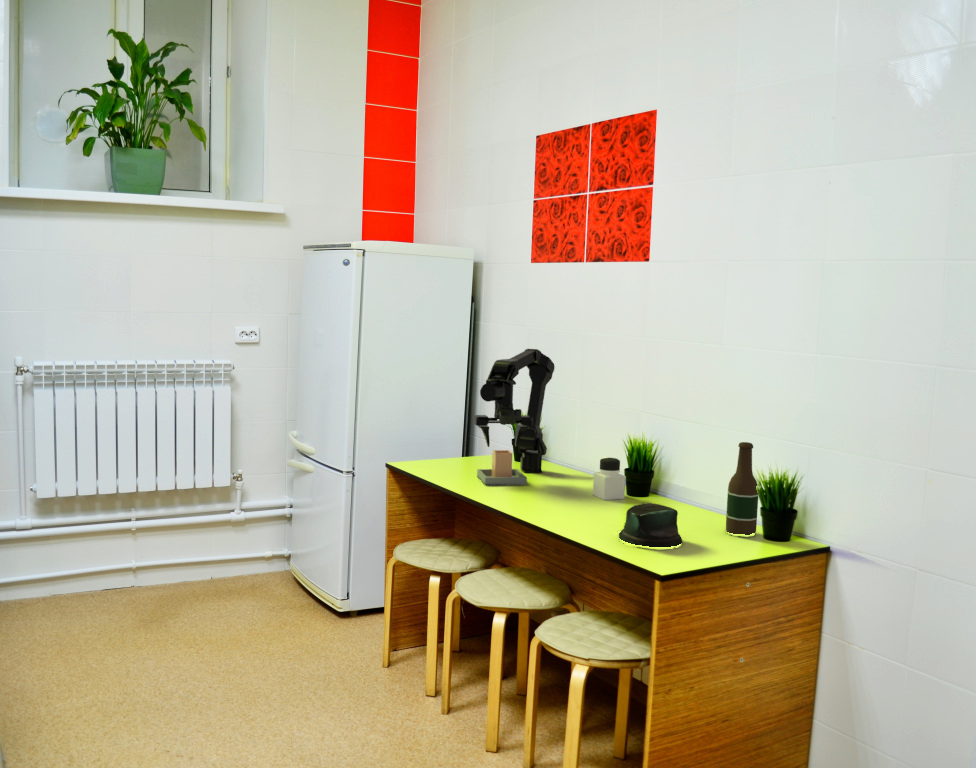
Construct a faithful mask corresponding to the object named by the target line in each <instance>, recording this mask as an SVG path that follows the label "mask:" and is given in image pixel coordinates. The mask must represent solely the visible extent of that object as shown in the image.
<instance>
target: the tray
mask: <svg viewBox="0 0 976 768" xmlns="http://www.w3.org/2000/svg"><path fill="white" fill-rule="evenodd" d="M476 471H477V472H476V477H477V478H478V480H479V481H480V480H481V481H482V482H481V481H480V482H481V483H482V484H483V485H484V486H485V485H486V486H487V485H489V486H490V485H491V486H527V485H528V484H527V483H528V481H527V479H528V478H527V476H526V475H525V474H523V472H521V471H520V470H519V469H518V468H512V477H492V468H486V469H485V468H484V469H483V468H481V469H478V468H477V470H476Z"/></svg>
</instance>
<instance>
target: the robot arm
mask: <svg viewBox="0 0 976 768" xmlns="http://www.w3.org/2000/svg"><path fill="white" fill-rule="evenodd" d="M525 367H526V368H527V369H528V376H529V378H530V380H531V387H530V394H529V399H528V405H527V406H528V407H527V412H526V414H524V415H522V409H521V408H520V409H519V408H517V409H514V403H513V402H514V401H513V400H514V398H513V397H514V386H515V385H516V384H517V382H516V381H515V380H514V379H515V378H516V377H517V376H518V375H519V374H520V373H519V372H520V370H521V369H523V368H525ZM555 367H556V366H555V364H554V362H553V361H552V359H551V358H550V357H549V356H547V355H546V354H544V353H542V351H541V350H539V349H537V348H525V349H524V351H522V352H520V353H518V354H516V355H514V356H512V357H510V358H503V359H496V360H495V361H494V363H493V364H492V367H491V369H490V371H489V374H488V376H487V379H486V380H485V383H484V384H483V385H482V386H481V387H480V391H479V394H480V397H481V399H482V400H483V401H485V402H494V414H493V415H494V417H489V416H488V415H486V414H475V415H474V416H473V420H472V421H473V422H472V423H473V424H474V425H475V426H477V427H478V428H479V429H481V431H482V434H483V436H484V440H485V443H486V446H487V448H490V426H488V425H489V424H501V425H502V426H505V425H506V426H507V425H511V426H513V425H514V426H515V435H514V437H515V438H514V447H515V448H517V452H518V454H522V456H520V470H521V471H522V473H533V474H534V473H535V474H536V473H544V472H543V470H542V463H543V459H542V458H543V456H545V455H546V454H547V450H548V449H547V446H546V444H545V442H544V440H543V437H544V433H543V431H542V429H541V427H540V426H541V425H540V423H541V418H542V414H543V412H542V411H543V406H544V402H545V401H544V399H545V392H546V387H547V385H548V383H549V382H550V381H551V380H552V379H553V374H554V371H555Z"/></svg>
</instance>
